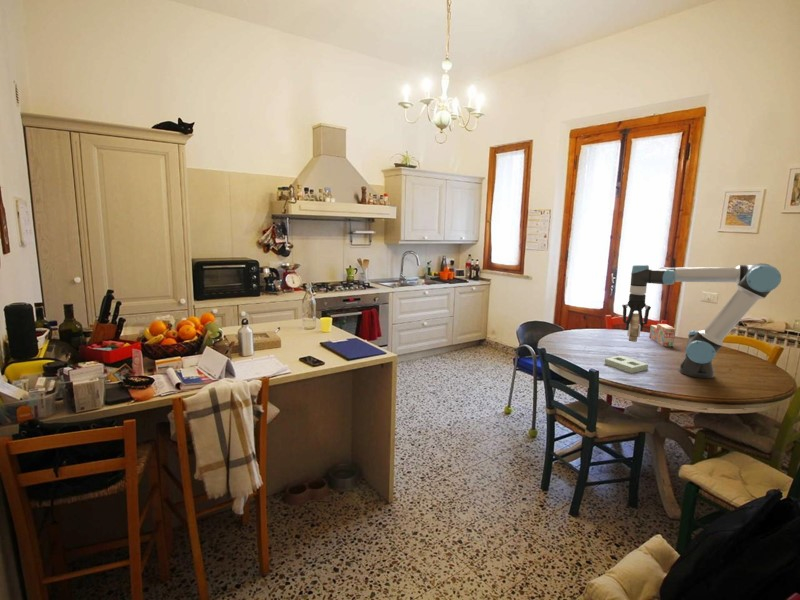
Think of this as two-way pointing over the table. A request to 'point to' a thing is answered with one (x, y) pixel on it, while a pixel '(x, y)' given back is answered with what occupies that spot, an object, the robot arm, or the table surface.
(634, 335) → the peg
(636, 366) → the board
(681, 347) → the table surface
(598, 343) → the table surface
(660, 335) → the stack of blocks
